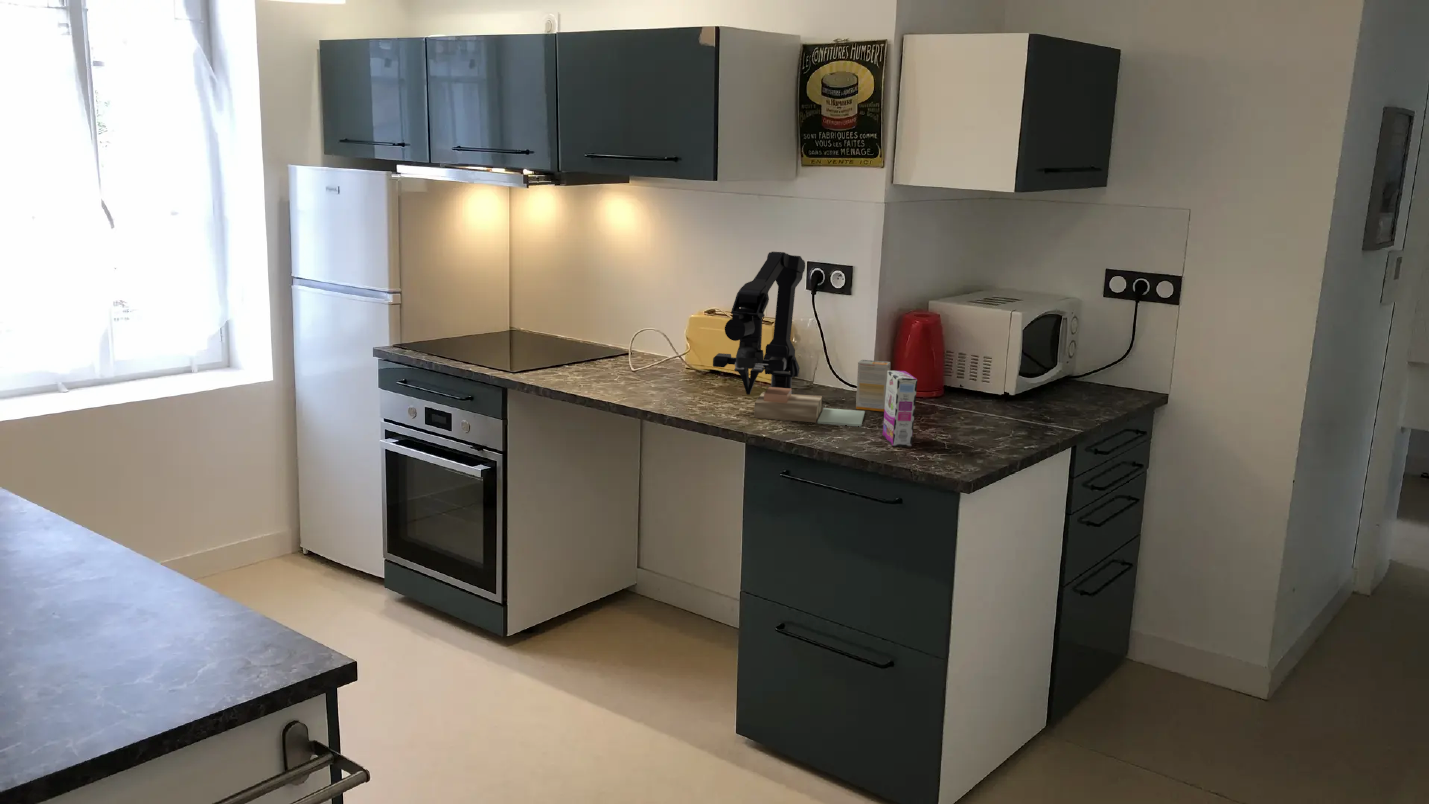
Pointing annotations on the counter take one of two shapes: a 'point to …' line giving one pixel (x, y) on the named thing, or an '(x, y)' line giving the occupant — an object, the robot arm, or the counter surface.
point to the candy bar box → (899, 408)
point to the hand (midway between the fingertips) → (748, 394)
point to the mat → (841, 417)
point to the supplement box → (871, 385)
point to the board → (790, 408)
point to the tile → (777, 394)
